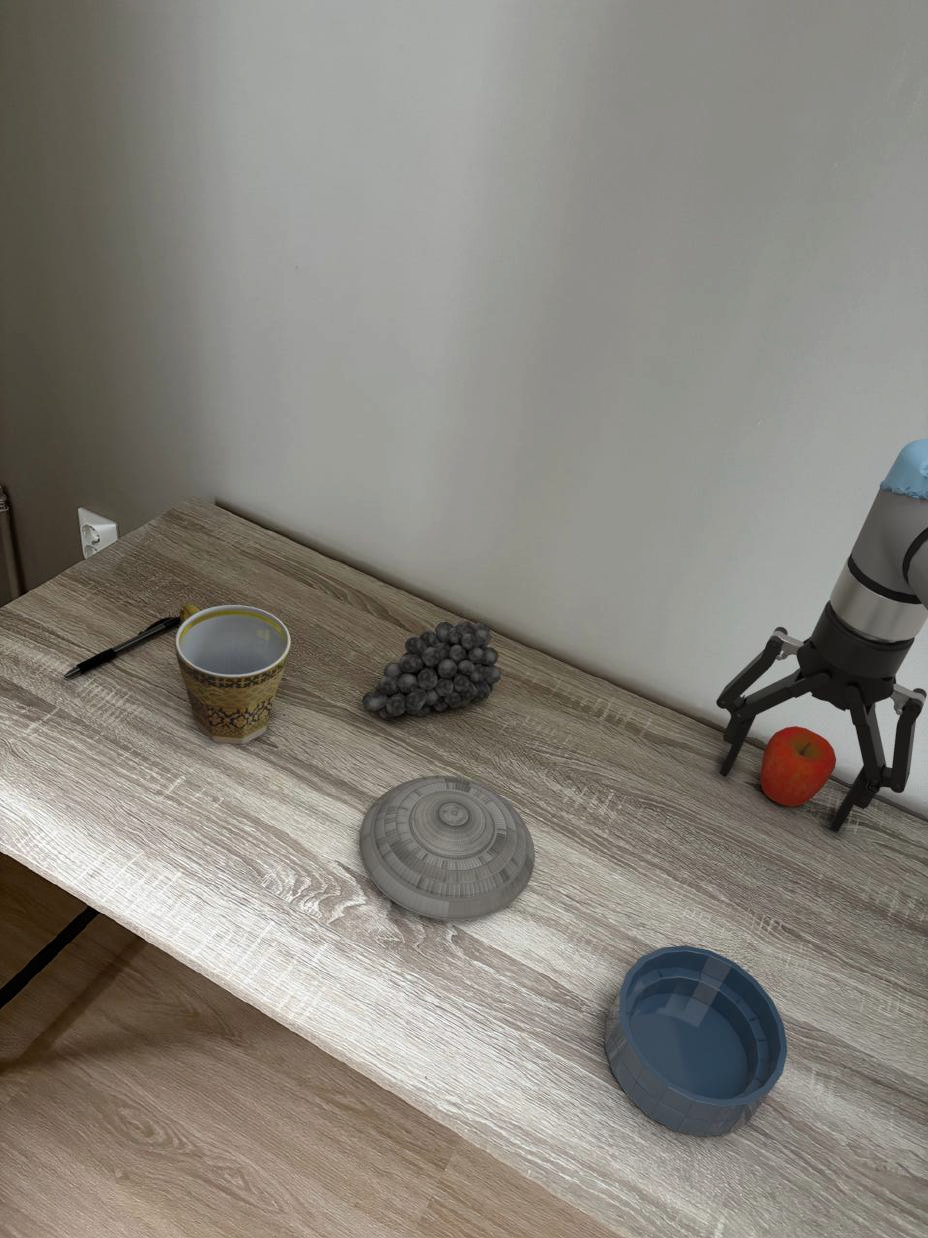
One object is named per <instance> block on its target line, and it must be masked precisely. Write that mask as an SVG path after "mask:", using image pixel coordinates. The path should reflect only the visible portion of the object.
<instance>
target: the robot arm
mask: <svg viewBox="0 0 928 1238" xmlns="http://www.w3.org/2000/svg"><path fill="white" fill-rule="evenodd" d="M927 620H928V438H919V439H916V440H912V441H910V442H909V443H907V444H906V445H904V446H903V448H901V450H900V451H899V453H898V455H897V456H896V458H895V459H894V462H893V463H892V466H891V467H890V469H889V471H888V473H887V474H886V476H885V478H884V479H883V480H881V482H880V484H879V488H878V491H877V493H876V496H875V498H874V500H873V503H872V505H871V507H870V509H869V510H868V514H867V516H866V518H865V521H864V522H863V524H862V527H861V528H860V531H859V533H858V535H857V538H856V540H855V542H854V544H853V546H852V548H851V552H850V553H849V556H848V557H847V558H846V560H845V562H844V565H843V566H842V569H841V571H840V573H839V576H838V577H837V580H836V582H835V584H834V586H833V588H832V590H831V592H830V596H829V599H828V600H827V602H826V604H825V605H824V607H823V610H822V612H821V614H820V616H819V618H818V620H817V623H816V624H815V627H814V628H813V631H812V633H811V635H810V636H808V638H807V639H805V640H803V641H801V640H799V639H797V638H794V637H792V636H789V635H788V634H789V633H788V629H786V628H785V627H783V626H777V627H776V628H775V629H774V630H773V632H772V633H771V635H770V637H769V638H768V640H767V642H766V643H765V646H764V648H763V649H762V650H761V652H759V653H758V654H757V655H756V656H755V657H754V658H753V659H752V660H751V661H750V662H749V663H748V664H747V665H746V666H745V667H743V669H742V670H740V672H739V673H737V674H736V676H735V677H734V678H732V679H731V680H730V681H729V682H728V683H727V684H726V685H725V686H724V688H723V689H722V690H721V693H720V694H719V696H718V698H717V699H716V701H715V704H716V706H717V707H718V708H719V709H722V710H726V711H727V712H728V713H729V715H730V718H729V721H728V723H727V725H726V727H725V731H724V733H723V735H722V740H723V741H724V742H726V743H727V744H730V745H731V746H730V748H729V750H728V753H727V756H726V758H725V760H724V762H723V764H722V766H721V768H720V770H719V773H720V774H722V775H723V776H726V777H727V776H728V775H729V774H730V772H731V770H732V768H733V766H734V764H735V762H736V761H737V759H738V756H739V754H740V752H741V750H742V748H743V745H744V743H745V741H746V739H747V736H748V735H749V732H750V731H751V728H752V726H753V723H754V722H755V719H756V717H757V715H760V714H762V713H764V712H766V711H769V710H770V709H772V708H774V707H777V706H778V705H781V704H782V703H785V702H787V701H789V700H791V699H793V698H795V699H798V698H799V697H802V696H804V695H806V694H808V693H810V694H811V697H813V698H815V699H817V700H819V701H823V702H827V703H829V704H831V705H832V706H833V707H835V708H836V709H838V710H841V711H843V712H846V711H849V713H850V719H851V724H852V725H853V726H854V727H855V733H856V736H857V741H858V747H859V750H860V754H861V759H862V764H863V765H862V766H861V769H860V770H859V772H858V774H857V776H856V777H855V779H854V781H853V783H852V784H851V786H850V788H849V789H848V791H847V793H846V795H845V797H844V799H843V800H842V802H841V804H840V805H839V807H838V808H837V811H836V813H835V815H834V818H833V820H832V823H831V825H830V827H829V828H830V830H832V831H834V832H836V833H839V832H840V830H841V828H842V826H843V825H844V823H845V821H846V819H847V818H848V816H849V814H850V813H851V811H852V810H853V808H854V806H856V807H857V808H859V809H861V810H865V809H867V808H868V807H869V806H870V804H871V802H872V801H873V799H874V797H875V796H876V794H878V793H879V792H880V791H881V789H882V788H886V789H887V788H889V789H890V790H891V791H892V792H894V793H896V794H902V793H904V791H905V789H906V786H907V783H908V780H909V777H910V775H911V774H910V773H911V767H912V766H911V765H912V758H913V757H912V756H913V749H914V742H915V741H914V740H915V731H916V726H917V725H916V724H917V719H918V718H919V716H920V715H921V713H922V711H923V708H924V705H925V703H926V699H927V696H928V694H927V692H926V690H925V689H924V688H921V687H916V688H914V689H912V690H911V689H909V688H907V687H905V686H902V685H901V684H898V683H897V676H896V675H897V673H898V672H899V670H900V668H901V666H902V664H903V662H904V660H905V659H906V658H907V655H908V654H909V651H910V650H911V648H912V646H913V644H914V642H915V639H916V636H918V635H919V634H920V632H921V630H922V628H923V627H924V625H925V623H926V621H927ZM792 655H794V656H796V660H797V663H798V666H799V668H797V669H795V671H794V672H792V673H791V674H788V675H787V676H784V677H783V678H781V679H779V680H777V681H774V682H772V683H771V684H768V685H766V686H765V687H763V688H760V689H759V690H757V691H755V692H752V693H750V694H749V695H747V696H746V695H745V694H744V693H745V692H746V691H747V690H748V689H750V688H751V686H753V685H754V683H756V681H758V680H759V679H760V678H761V677H762V676H763V675H764V674H765V673H766V672H767V671H768V670H769V669H771V668H772V666H773V665H774V663H775V662H776V660H777V661H783V660H786V659H787V658H788V657H789V656H792ZM888 699H891V700H892V701H893V710H894V711H895V714H896V715H897V716H899V717H898V720H897V722H896V727H895V737H894V745H893V755H892V764H891V767H889V766H887V761H886V756H885V752H884V751H885V750H884V746H883V742H882V737H881V731H880V726H879V723H878V718H877V713H876V707H877V706H876V703H879V702H881V701H885V700H888Z"/></svg>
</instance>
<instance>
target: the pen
mask: <svg viewBox="0 0 928 1238" xmlns="http://www.w3.org/2000/svg"><path fill="white" fill-rule="evenodd" d="M181 623H182V622H181V619H180V615H179V616H168V617H164V618H161V619H158V620H156V621H155V622H153V623H151V624H150V625H149V626H147V627H146V628H145V630H142V631H140V632H138V633H137V635H135V636H133V637H132V638H130V639H128V640H125V641H123V642H121V643H119V644H117V645H115V646H114V647H110V648H107V649H105V650H104V651H101V652H99V653H97V654H95V655H93V656H91V657H90V658H88V659H86V660H83V661H81V662H79V663H77V664H76V665H75V666H74V667H73V668H70V670H68V671H67V672H66V673H65V674H64V678H65V679H70V678H71V679H72V678H75V677H77V676H79V675H85V674H86V673H88V672H90V671H91V670H92V671H93V670H94V669H96V668H98V667H101V666H103V665H104V664H107V663H108V662H110V661H112V660H113V659H116V658H117V657H118V656H120V655H122V654H124V653H126V652H127V651H129V650H131V649H134V648H135V647H137V646H139V645H140V646H141V644H143V643H146V642H147V641H149V640H151V639H154V638H155V637H157V636H160V635H161V634H164V633H165V632H168V631H170V630H172V629H174V628H176V627H179V626H180V625H181Z"/></svg>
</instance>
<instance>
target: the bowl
mask: <svg viewBox="0 0 928 1238" xmlns="http://www.w3.org/2000/svg"><path fill="white" fill-rule="evenodd" d="M612 1003H613V1004H612V1006H611V1008H610V1011H609V1013H608V1016H607V1019H606V1021H605V1034H604V1035H605V1037H604V1038H605V1039H604V1041H605V1042H604V1043H605V1044H604V1046H605V1047H604V1048H605V1051H606V1054H607V1058H608V1061H609V1065H610V1068H611V1071H612V1073H613V1075H614V1078H616V1080H617V1082H618V1083H619V1085H620V1087H621V1089H623V1091H624V1093H625V1094H626V1096H627V1097H628V1099H629V1100H631V1102H632V1103H634V1104H635V1105H636V1106H637V1107H638V1108H639V1109H640V1110H641V1111H642V1112H644V1114H646V1116H647V1117H649V1118H650V1119H652V1120H654V1121H656V1122H657V1123H659V1124H661V1125H663V1126H665V1127H667V1128H669V1129H671V1130H673V1131H675V1132H678V1133H683V1134H686V1135H687V1134H689V1135H692V1136H697V1137H712V1136H719V1135H720V1136H721V1135H727V1134H730V1133H732V1132H734V1131H736V1130H737V1129H739V1128H741V1127H743V1126H745V1125H746V1124H747V1123H749V1122H750V1121H751V1120H752V1118H753V1117H754V1116H755V1114H756V1113H757V1112H758V1110H759V1109H760V1107H761V1106H762V1104H763V1103H764V1102H765V1100H766V1098H767V1097H768V1096H769V1094H770V1093H771V1091H772V1090H773V1088H774V1087H775V1085H777V1082H778V1081H779V1080H780V1079H781V1077H782V1076H783V1074H784V1070H785V1065H786V1061H787V1056H788V1042H787V1037H786V1029H785V1024H784V1021H783V1020H782V1016H781V1015H780V1012H779V1011H778V1009H777V1006H776V1004H775V1002H774V1000H773V999H772V998H771V996H770V995H769V994H768V992H767V991H766V990H765V988H764V987H763V985H761V983H759V981H758V980H757V979H756V978H755V977H754V976H752V974H750V973H749V972H748V971H746V970H745V968H742V967H741V966H740V965H739V964H738V963H737V962H735V961H733V960H732V959H729V958H727V957H725V956H723V955H720V953H719V954H718V953H717V952H714V951H712V950H710V949H705V948H700V947H695V946H690V945H685V944H684V945H673V946H662V947H660V948H658V949H655V950H653V951H651V952H648V953H646V954H644V955H642V956H641V957H640V958H639V959H638V960H637V961H636V962H635V963H634V964H633V965H632V966H631V967H630V968H629V969H628V970H627V972H626V973H625V975H624V978H623V981H622V983H621V985H620V987H619V990H618V992H617V994H616V996H615V999H614V1001H613V1002H612Z"/></svg>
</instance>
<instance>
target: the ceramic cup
mask: <svg viewBox="0 0 928 1238" xmlns="http://www.w3.org/2000/svg"><path fill="white" fill-rule="evenodd" d="M179 616H180V619H181V622H180V623H181V624H180V625H179V626H178V629H177V630H176V632H175V633H176V634H175V635H174V650H175V655H176V661H177V663H178V669H179V672H180V675H181V677H182V681H183V684H184V685H185V690H186V694H187V697H188V701H189V705H190V707H191V711H192V716H193V719H194V722H195V725H196V726H197V727H198V728H199V729H200V730H201V731H202V732H203V733H204V734H205V735H206V736H207V737H208V738H209V739H210V740H211V741H212V742H214V743H220V744H231V745H246V744H247V743H249V742H251V741H252V740H255V739H256V738H258V737H260V736H262V735H264V734H265V732H266V730H267V727H268V724H269V721H270V720H269V719H270V716H271V712H272V708H273V704H274V700H275V698H276V694H277V690H278V688H279V687H280V686H279V685H280V683H281V681H282V678H283V676H284V671H285V669H286V665H287V662H288V658H289V653H290V650H291V644H292V641H291V635H290V632H289V629H288V628H287V627H286V625H285V624H284V623H283V622H282V621H281V620H280V618H278V617H277V616H276V615H274V614H272V613H270V612H268V611H266V610H263V609H260V608H257V607H253V606H248V605H240V604H225V605H217V606H212V607H209V608H205V609H202V610H200V609H199V608H197V607H196V606H194V605H193V604H187V603H186V604H184V605H182V606H181V607H180V609H179Z"/></svg>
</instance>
